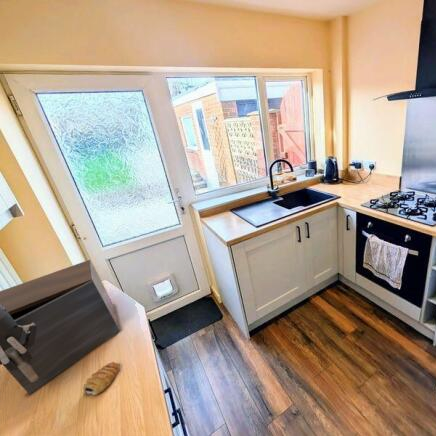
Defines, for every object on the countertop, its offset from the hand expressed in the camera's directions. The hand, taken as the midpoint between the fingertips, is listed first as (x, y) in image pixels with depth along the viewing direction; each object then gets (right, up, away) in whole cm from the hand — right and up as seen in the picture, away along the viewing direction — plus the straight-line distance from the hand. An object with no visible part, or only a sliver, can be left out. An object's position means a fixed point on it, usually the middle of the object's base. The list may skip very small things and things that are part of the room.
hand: (22, 364), depth 68 cm
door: (+4, -8, +15) cm, 18 cm away
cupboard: (-8, -5, +27) cm, 28 cm away
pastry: (+16, -11, +8) cm, 21 cm away
